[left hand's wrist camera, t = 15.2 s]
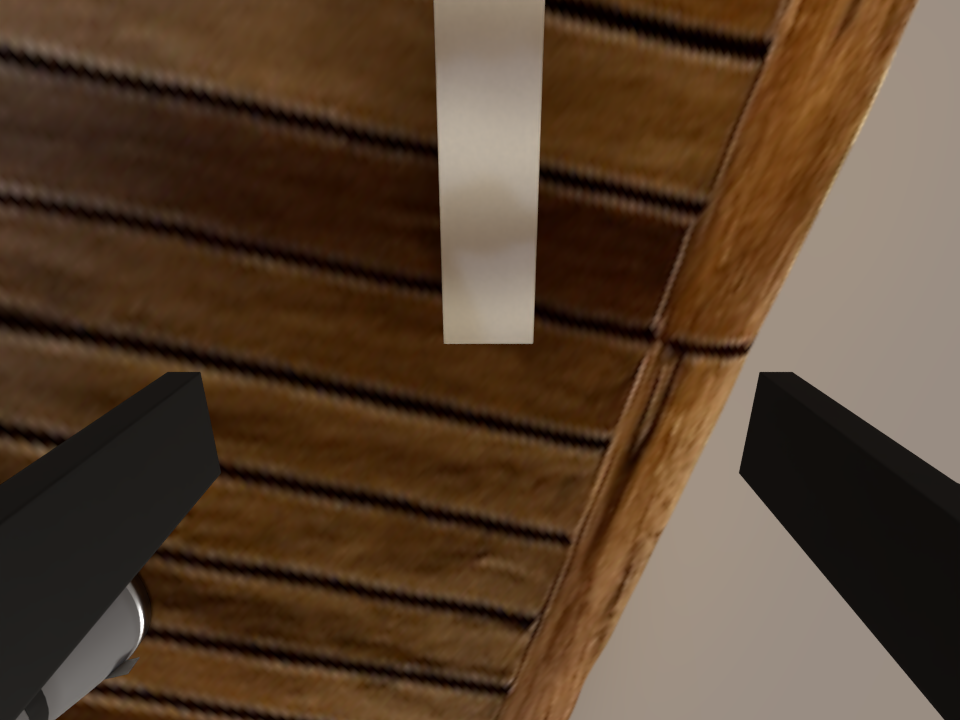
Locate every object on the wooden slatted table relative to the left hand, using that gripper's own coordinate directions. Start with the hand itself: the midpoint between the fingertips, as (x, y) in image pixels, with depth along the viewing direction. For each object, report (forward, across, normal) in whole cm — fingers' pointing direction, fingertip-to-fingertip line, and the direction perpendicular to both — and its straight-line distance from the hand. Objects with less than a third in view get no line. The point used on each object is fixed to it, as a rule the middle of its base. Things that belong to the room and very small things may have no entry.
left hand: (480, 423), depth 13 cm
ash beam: (+22, 0, -10) cm, 24 cm away
